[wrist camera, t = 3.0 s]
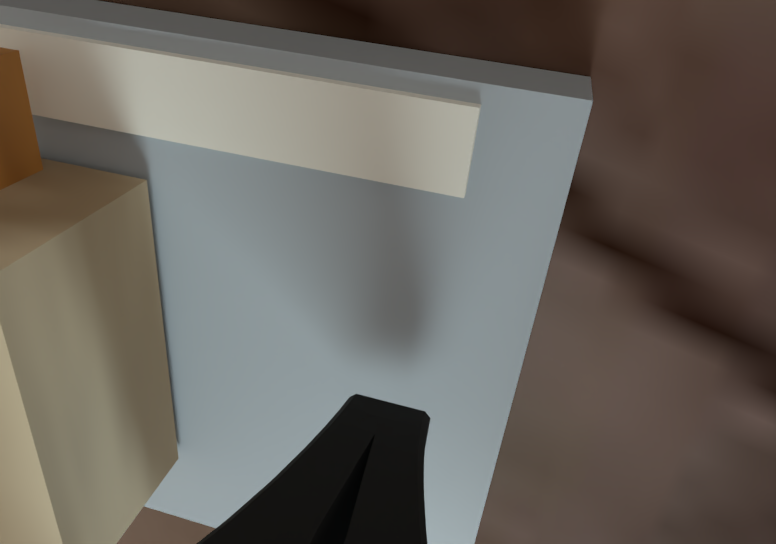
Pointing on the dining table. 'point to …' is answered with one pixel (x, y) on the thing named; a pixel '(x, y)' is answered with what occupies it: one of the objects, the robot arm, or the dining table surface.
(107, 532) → the beige block with peg
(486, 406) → the gauge bed
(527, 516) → the dining table surface
